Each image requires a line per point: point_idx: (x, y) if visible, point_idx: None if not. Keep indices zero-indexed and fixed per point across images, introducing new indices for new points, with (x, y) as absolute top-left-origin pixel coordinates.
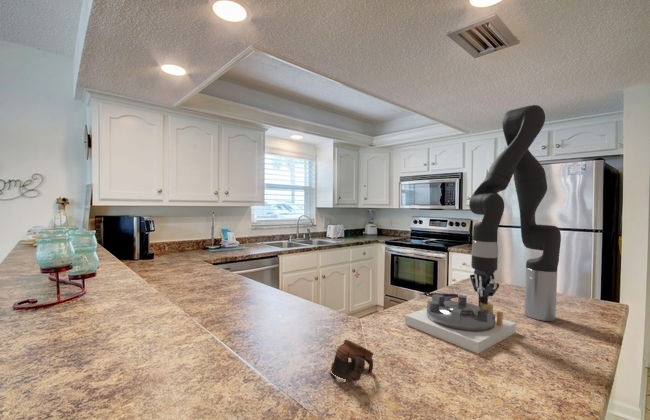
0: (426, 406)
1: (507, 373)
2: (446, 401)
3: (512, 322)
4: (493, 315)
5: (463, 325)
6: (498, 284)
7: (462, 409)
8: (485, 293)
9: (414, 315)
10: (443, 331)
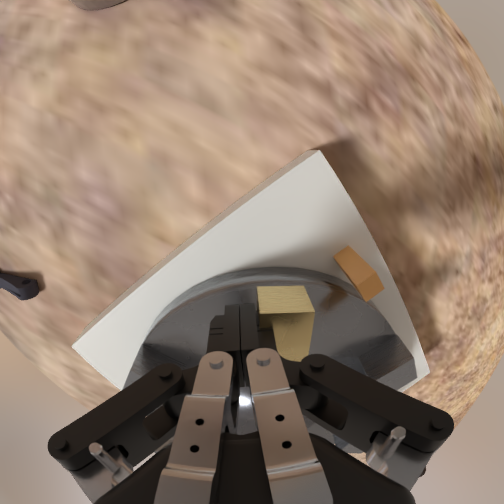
0: (461, 413)
1: (476, 325)
2: (467, 401)
3: (311, 164)
4: (343, 301)
5: None
6: (451, 431)
7: (480, 389)
8: (324, 411)
9: None
10: None
